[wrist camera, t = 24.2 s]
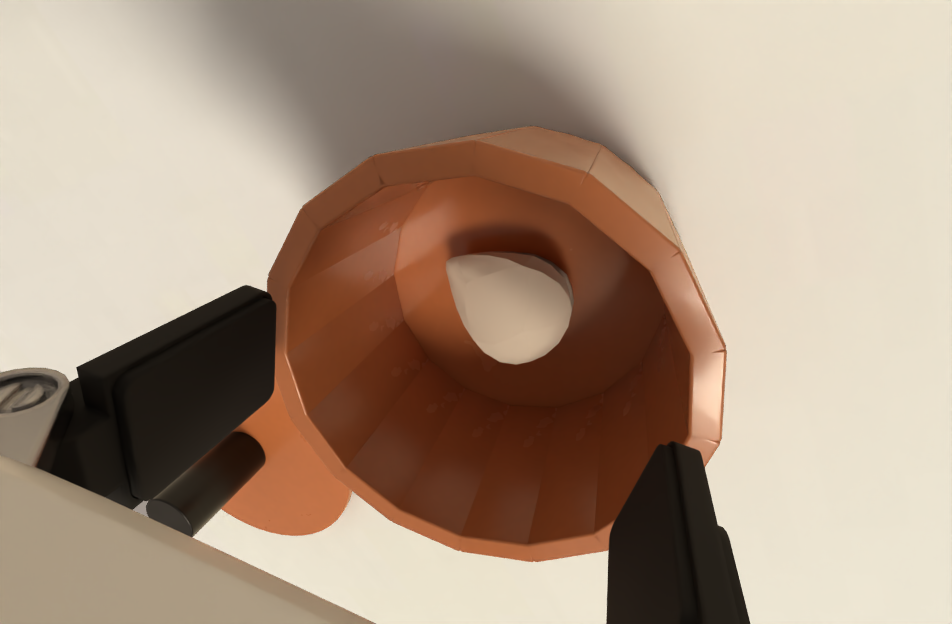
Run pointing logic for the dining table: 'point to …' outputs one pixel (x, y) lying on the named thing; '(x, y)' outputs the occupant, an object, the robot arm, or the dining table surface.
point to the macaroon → (511, 303)
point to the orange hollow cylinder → (470, 369)
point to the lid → (256, 480)
